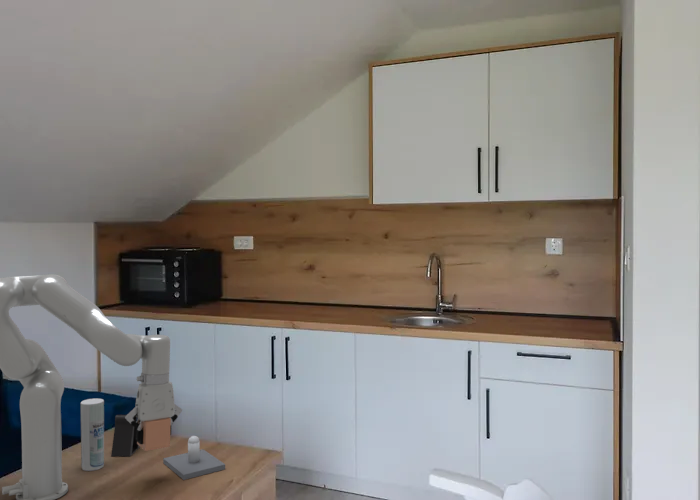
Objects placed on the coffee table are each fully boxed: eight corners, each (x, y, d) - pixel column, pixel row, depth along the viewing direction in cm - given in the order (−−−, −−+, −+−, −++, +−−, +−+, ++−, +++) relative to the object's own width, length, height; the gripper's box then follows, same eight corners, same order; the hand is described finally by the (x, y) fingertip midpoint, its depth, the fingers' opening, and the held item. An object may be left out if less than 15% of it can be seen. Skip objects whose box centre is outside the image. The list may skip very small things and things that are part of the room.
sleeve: (145, 451, 166) (146, 422, 166) (137, 443, 172) (137, 416, 172) (169, 446, 171) (170, 418, 170) (161, 439, 176) (161, 412, 176)
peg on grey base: (183, 479, 171) (183, 448, 171) (163, 463, 184) (163, 433, 184) (225, 469, 179) (225, 438, 179) (203, 453, 192) (202, 425, 192)
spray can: (92, 461, 185) (91, 397, 185) (109, 464, 183) (108, 399, 183) (76, 469, 179) (75, 403, 178) (93, 472, 177) (93, 405, 176)
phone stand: (122, 446, 198) (122, 410, 198) (140, 446, 198) (140, 410, 198) (110, 456, 189) (110, 419, 189) (129, 456, 189) (129, 419, 189)
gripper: (128, 385, 163) (126, 450, 163) (189, 377, 173) (187, 439, 173) (120, 379, 169) (118, 442, 169) (179, 372, 179) (177, 432, 179)
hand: (153, 440), depth 171 cm, fingers closed on sleeve, 7 cm apart
